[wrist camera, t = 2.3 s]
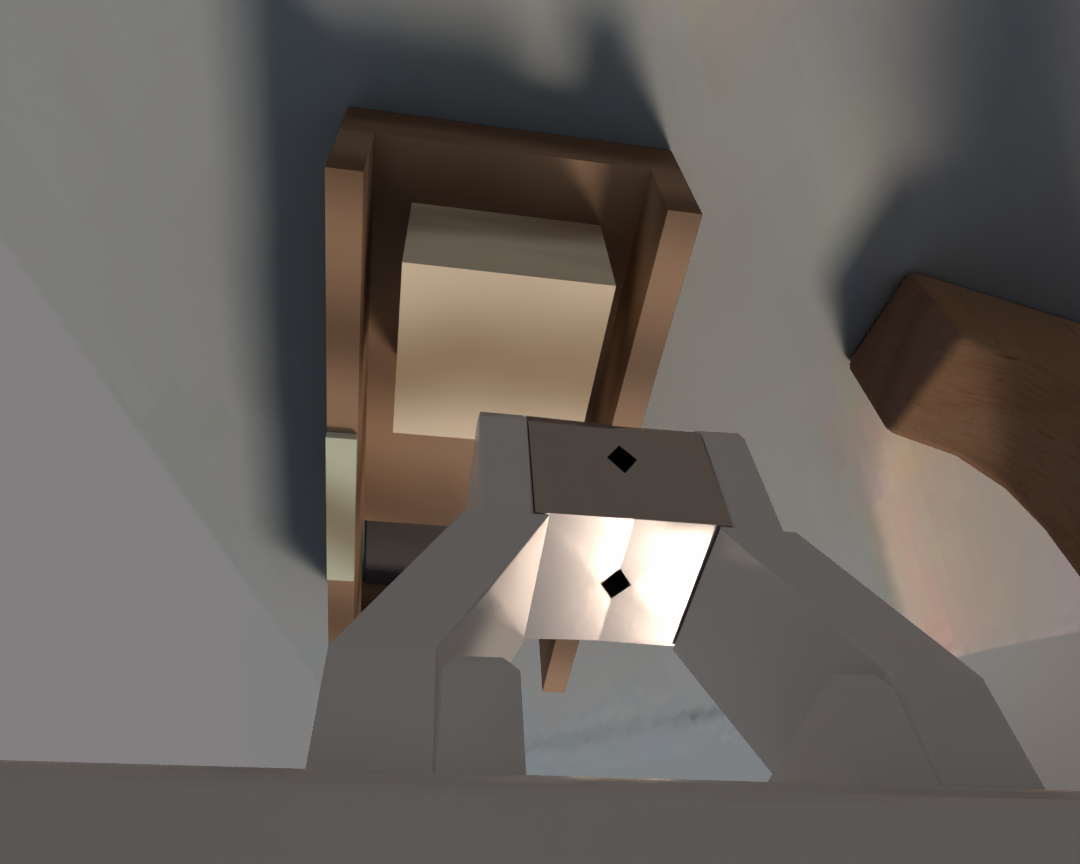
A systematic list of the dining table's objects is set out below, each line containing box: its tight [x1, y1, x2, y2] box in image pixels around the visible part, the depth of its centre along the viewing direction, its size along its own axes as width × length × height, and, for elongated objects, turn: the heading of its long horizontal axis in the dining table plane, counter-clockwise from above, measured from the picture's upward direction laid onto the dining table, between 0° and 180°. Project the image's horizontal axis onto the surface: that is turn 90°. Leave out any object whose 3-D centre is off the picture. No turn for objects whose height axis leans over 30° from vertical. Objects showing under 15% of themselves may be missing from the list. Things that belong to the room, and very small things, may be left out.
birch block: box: [393, 203, 616, 439], centre depth 26 cm, size 6×6×4 cm
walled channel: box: [325, 107, 702, 692], centre depth 32 cm, size 23×10×5 cm, turn 171°
